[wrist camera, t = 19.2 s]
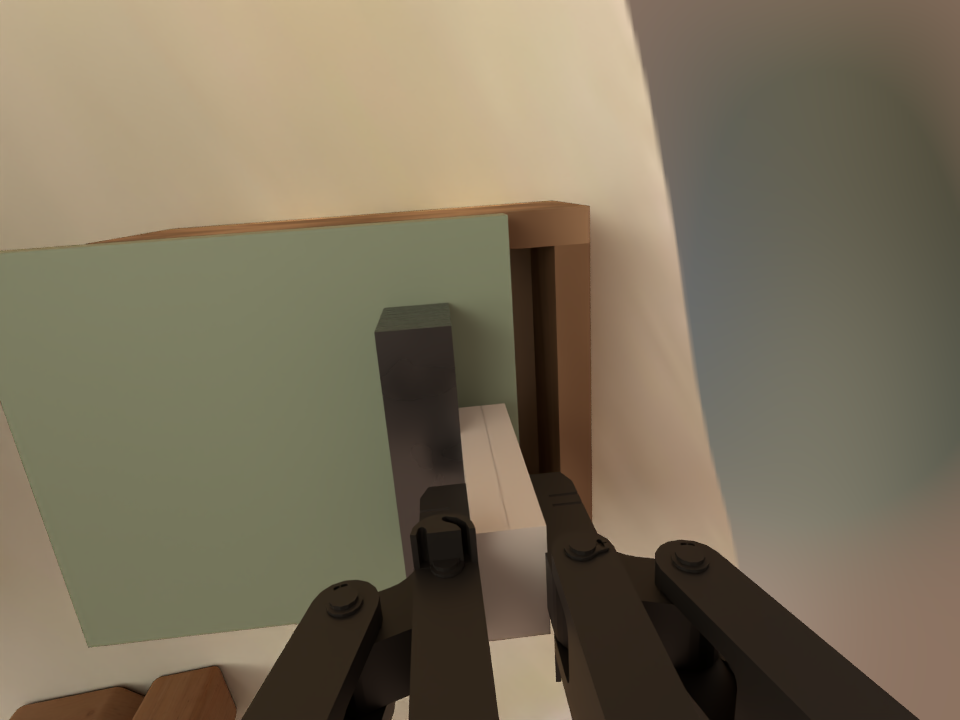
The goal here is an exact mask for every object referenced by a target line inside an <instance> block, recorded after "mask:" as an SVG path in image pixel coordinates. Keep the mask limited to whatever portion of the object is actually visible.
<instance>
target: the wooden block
mask: <svg viewBox="0 0 960 720" xmlns="http://www.w3.org/2000/svg"><path fill="white" fill-rule="evenodd" d="M236 713H237V711H236V707H235V704H234V702H233V699H232V697H231V695H230V692H229V690H228V687H227V685H226V683H225V680H224V678H223V676H222V673H221V671H220V669H219V668H218V667H216V666H212V667H207V668H202V669H197V670H192V671H187V672H182V673H177V674H172V675H168V676H163V677H159V678H157V679H156V680H155V681H154V682H153V683H152V685H151V687H150V689H149V690H148V692H147V694H146V696H145V697H144V696H142V695H139V694H137V693H134V692H132V691H129V690H127V689H124V688H121V687H113V688H108V689H103V690H98V691H93V692H88V693H83V694H78V695H73V696H68V697H63V698H58V699H53V700H48V701H43V702H38V703H34V704H29V705H24V706H22V707H20V708H19V709H17V710H16V712H15V713H14V714H13V716H12V717H11V718H10V719H9V720H235V717H236Z"/></svg>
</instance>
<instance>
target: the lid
mask: <svg viewBox="0 0 960 720" xmlns="http://www.w3.org/2000/svg"><path fill="white" fill-rule="evenodd" d="M0 402H1V405H2V408H3V410H4V413H5V416H6V419H7V422H8V424H9V427H10V430H11V433H12V435H13V438H14V441H15V444H16V447H17V449H18V452H19V455H20V458H21V461H22V463H23V466H24V469H25V472H26V475H27V477H28V480H29V483H30V486H31V489H32V491H33V494H34V497H35V500H36V503H37V505H38V508H39V511H40V514H41V516H42V519H43V522H44V525H45V528H46V530H47V533H48V536H49V539H50V542H51V544H52V547H53V550H54V553H55V556H56V558H57V561H58V564H59V567H60V570H61V572H62V575H63V578H64V581H65V583H66V586H67V589H68V592H69V595H70V597H71V600H72V603H73V606H74V609H75V611H76V614H77V617H78V620H79V623H80V625H81V628H82V631H83V634H84V637H85V639H86V642H87V645H88V648H89V647H98V646H107V645H115V644H124V643H133V642H142V641H150V640H159V639H168V638H177V637H185V636H194V635H203V634H212V633H220V632H229V631H238V630H247V629H255V628H264V627H273V626H282V625H290V624H299V623H300V621H301V619H302V618H303V616H304V614H305V613H306V611H307V609H308V608H309V606H310V604H311V603H312V601H313V600H314V599H315V598H316V597H317V596H318V594H319V593H320V592H322V591H323V590H325V589H326V588H328V587H329V586H331V585H333V584H336V583H339V582H342V581H346V580H362V581H366V582H369V583H370V584H372V585H373V586H375V587H376V589H377V591H378V592H379V591H381V590H384V589H387V588H390V587H392V586H394V585H397V584H399V583H400V582H402V581H403V580H405V579H406V578H408V577H409V576H410V574H411V573H412V572H413V571H414V564H413V557H412V549H411V541H410V534H411V531H412V528H413V527H414V526H415V525H416V524H417V523H418V522H419V516H420V498H421V496H422V495H423V494H424V492H425V491H426V490H427V488H428V487H433V486H443V485H452V484H461V483H465V478H464V467H463V456H462V444H461V432H460V420H459V408H462V407H472V406H482V405H492V404H502V403H505V406H506V409H507V412H508V415H509V418H510V420H511V423H512V426H513V429H514V432H515V435H516V438H517V441H518V444H519V425H518V406H517V386H516V367H515V347H514V328H513V308H512V289H511V269H510V250H509V230H508V215H506V214H504V213H497V214H484V215H471V216H457V217H444V218H431V219H417V220H404V221H391V222H378V223H364V224H351V225H338V226H324V227H311V228H298V229H284V230H271V231H258V232H245V233H231V234H218V235H205V236H191V237H178V238H165V239H151V240H138V241H125V242H111V243H98V244H85V245H72V246H58V247H45V248H32V249H18V250H5V251H0ZM519 447H520V445H519Z"/></svg>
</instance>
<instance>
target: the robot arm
mask: <svg viewBox="0 0 960 720" xmlns="http://www.w3.org/2000/svg"><path fill="white" fill-rule="evenodd" d="M459 420H460V432H461V444H462V456H463V467H464V478H465V483H461V484H452V485H443V486H433V487H428V488H427V490H426V491H425V492H424V494H423V495H422V496H421V498H420V516H419V522H418V523H417V524H416V525H415V526H414V527H413V528H412V531H411V534H410V541H411V549H412V557H413V564H414V571H413V572H412V573H411V574H410V576H409V577H408V578H406V579H405V580H403V581H402V582H400V583H399V584H397V585H394V586H392V587H390V588H387V589H384V590H381V591H379V592H378V591H377V589H376V587H375V586H373V585H372V584H370V583H369V582H366V581H362V580H346V581H342V582H339V583H336V584H333V585H331V586H329V587H328V588H326V589H325V590H323V591H322V592H320V593H319V594H318V596H317V597H316V598H315V599H314V600H313V601H312V603H311V604H310V606H309V608H308V609H307V611H306V613H305V614H304V616H303V618H302V619H301V621H300V623H299V624H298V626H297V628H296V629H295V631H294V633H293V634H292V636H291V638H290V639H289V641H288V643H287V644H286V646H285V648H284V649H283V651H282V653H281V654H280V656H279V658H278V659H277V661H276V663H275V664H274V666H273V668H272V669H271V671H270V673H269V674H268V676H267V678H266V679H265V681H264V683H263V684H262V686H261V688H260V689H259V691H258V693H257V694H256V696H255V698H254V699H253V701H252V703H251V704H250V706H249V708H248V709H247V711H246V713H245V714H244V716H243V718H242V719H241V720H391V719H392V716H393V713H394V708H395V701H397V700H399V699H402V698H404V697H406V696H408V695H410V697H409V720H499V716H498V708H497V701H496V693H495V685H494V678H493V670H492V663H491V655H490V647H489V641H496V640H504V639H512V638H520V637H528V636H536V635H544V634H551V633H550V619H551V623H552V627H553V630H554V639H555V666H556V682H561V678H562V682H563V686H564V689H565V693H566V697H567V701H568V705H569V708H570V712H571V716H572V720H919V719H918V718H917V717H916V716H914V715H913V714H912V713H911V712H909V711H908V710H907V709H906V708H905V707H904V706H902V705H901V704H900V703H899V702H898V701H896V700H895V699H894V698H893V697H892V696H890V695H889V694H888V693H887V692H886V691H884V690H883V689H882V688H881V687H880V686H878V685H877V684H876V683H875V682H874V681H872V680H871V679H870V678H869V677H867V676H866V675H865V674H864V673H863V672H861V671H860V670H859V669H858V668H857V667H855V666H854V665H853V664H852V663H851V662H849V661H848V660H847V659H846V658H845V657H843V656H842V655H841V654H840V653H838V652H837V651H836V650H835V649H834V648H833V647H831V646H830V645H829V644H827V643H826V642H825V641H824V640H823V639H822V638H820V637H819V636H818V635H817V634H816V633H814V632H813V631H812V630H811V629H809V628H808V627H807V626H806V625H805V624H804V623H802V622H801V621H800V620H799V619H798V618H796V617H795V616H794V615H793V614H791V613H790V612H789V611H788V610H787V609H786V608H784V607H783V606H782V605H781V604H780V603H778V602H777V601H776V600H775V599H774V598H772V597H771V596H770V595H768V594H767V593H766V592H765V591H764V590H763V589H761V588H760V587H759V586H758V585H757V584H755V583H754V582H753V581H752V580H751V579H749V578H748V577H747V576H746V575H744V574H743V573H742V572H741V571H740V570H739V569H737V568H736V567H735V566H734V565H733V564H731V563H730V562H729V561H728V560H727V559H725V558H724V557H723V556H722V555H720V554H719V553H718V552H717V551H715V550H713V549H712V548H710V547H709V546H707V545H704V544H701V543H698V542H695V541H688V540H676V541H669V542H667V543H665V544H663V545H661V546H660V547H659V548H658V550H657V551H656V552H655V559H652V558H642V557H634V556H629V555H625V554H622V553H619V552H616V550H615V548H614V546H613V545H612V544H611V543H610V541H609V540H608V539H606V538H605V537H603V536H601V535H599V534H597V532H596V530H595V528H594V526H593V523H592V521H591V519H590V517H589V515H588V513H587V511H586V509H585V507H584V505H583V503H582V500H581V498H580V496H579V494H578V493H577V490H576V488H575V486H574V484H573V482H572V480H571V479H569V478H568V477H566V476H565V475H564V474H562V473H561V472H551V473H541V474H532V475H529V474H528V471H527V468H526V465H525V462H524V459H523V456H522V453H521V450H520V447H519V444H518V441H517V438H516V435H515V432H514V429H513V426H512V423H511V420H510V418H509V415H508V412H507V409H506V406H505V403H502V404H492V405H482V406H472V407H462V408H459Z"/></svg>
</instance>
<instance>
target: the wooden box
mask: <svg viewBox="0 0 960 720" xmlns="http://www.w3.org/2000/svg"><path fill="white" fill-rule="evenodd" d="M497 213H504V214H506V215H508V230H509V250H510V269H511V289H512V308H513V328H514V347H515V367H516V386H517V406H518V425H519V445H520V450H521V453H522V456H523V459H524V462H525V465H526V468H527V471H528V474H529V475H532V474H541V473H551V472H561V473H562V474H564V475H565V476H566V477H568V478H569V479H571V480H572V482H573V484H574V486H575V488H576V490H577V493H578V494H579V496H580V498H581V500H582V503H583V505H584V507H585V509H586V511H587V513H588V515H589V517H590V519H591V521H592V456H591V322H590V206H586V205H579V204H572V203H565V202H558V201H542V202H528V203H515V204H501V205H488V206H474V207H461V208H447V209H434V210H420V211H407V212H394V213H380V214H367V215H353V216H340V217H326V218H313V219H299V220H286V221H272V222H259V223H245V224H232V225H219V226H205V227H192V228H178V229H169V230H163V231H157V232H151V233H145V234H140V235H134V236H128V237H122V238H117V239H111V240H105V241H99V242H94V243H88V244H98V243H111V242H125V241H138V240H151V239H165V238H178V237H191V236H205V235H218V234H231V233H245V232H258V231H271V230H284V229H298V228H311V227H324V226H338V225H351V224H364V223H378V222H391V221H404V220H417V219H431V218H444V217H457V216H471V215H484V214H497Z"/></svg>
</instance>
